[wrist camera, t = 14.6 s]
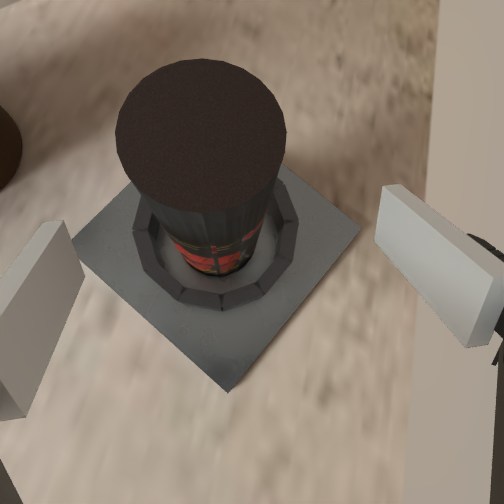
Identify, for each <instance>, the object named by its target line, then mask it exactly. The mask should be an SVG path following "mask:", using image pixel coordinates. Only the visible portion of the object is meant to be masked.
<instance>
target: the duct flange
mask: <svg viewBox="0 0 504 504" xmlns="http://www.w3.org/2000/svg"><path fill="white" fill-rule="evenodd" d="M361 229H362V228H361V227H360V226H359V225H358V224H356V223H355V222H354V221H353V220H352V219H350V218H349V217H348V216H347V215H345V214H344V213H343V212H342V211H340V210H339V209H338V208H337V207H335V206H334V205H333V204H332V203H331V202H329V201H328V200H327V199H326V198H324V197H323V196H322V195H321V194H319V193H318V192H317V191H316V190H314V189H313V188H312V187H311V186H310V185H308V184H307V183H306V182H305V181H303V180H302V179H301V178H300V177H298V176H297V175H296V174H295V173H294V172H292V171H291V170H290V169H289V168H287V167H286V166H285V165H284V164H282V163H281V166H280V169H279V173H278V176H277V179H276V182H275V186H274V189H273V192H272V195H271V199H270V202H269V205H268V208H267V212H266V215H265V218H264V221H263V225H262V228H261V231H260V235H259V238H258V241H257V244H256V248H255V250H254V253H253V255H252V257H251V259H250V260H249V261H248V263H247V264H246V265H245V266H244V267H243V268H241V269H240V270H239V271H237V272H235V273H232V274H230V275H227V276H220V277H215V276H207V275H205V274H202V273H199V272H197V271H196V270H195V269H193V268H192V267H191V266H189V264H188V263H187V262H186V261H185V259H184V258H183V257H182V255H181V254H180V252H179V251H178V249H177V248H176V246H175V245H174V243H173V242H172V240H171V239H170V237H169V236H168V234H167V233H166V231H165V230H164V229H163V227H162V226H161V224H160V223H159V221H158V220H157V218H156V217H155V215H154V214H153V212H152V211H151V209H150V208H149V206H148V205H147V204H146V202H145V201H144V199H143V198H142V196H141V195H140V193H139V192H138V190H137V189H136V187H135V186H134V184H133V183H132V181H131V182H130V183H129V184H128V185H127V186H126V187H125V188H124V189H123V190H122V191H121V192H120V193H119V194H118V195H117V196H116V197H115V198H114V199H113V200H112V201H111V202H110V203H109V204H108V205H107V206H106V207H105V208H104V209H103V210H102V211H101V212H99V213H98V214H97V215H96V216H95V217H94V218H93V219H92V220H91V221H90V222H89V223H88V224H87V225H86V226H85V227H84V228H83V229H82V230H81V231H80V232H79V233H78V234H77V235H76V236H75V237H74V238H73V239H72V240H71V241H72V243H73V246H74V249H75V251H76V254H77V256H78V258H79V259H80V260H81V261H82V262H83V263H84V264H85V265H86V266H87V267H88V268H90V269H91V270H92V271H93V272H94V273H95V274H96V275H97V276H98V277H100V278H101V279H102V280H103V281H104V282H105V283H106V284H107V285H108V286H110V287H111V288H112V289H113V290H114V291H115V292H116V293H117V294H118V295H119V296H121V297H122V298H123V299H124V300H125V301H126V302H127V303H128V304H129V305H131V306H132V307H133V308H134V309H135V310H136V311H137V312H138V313H139V314H141V315H142V316H143V317H144V318H145V319H146V320H147V321H148V322H149V323H150V324H152V325H153V326H154V327H155V328H156V329H157V330H158V331H159V332H160V333H162V334H163V335H164V336H165V337H166V338H167V339H168V340H169V341H170V342H172V343H173V344H174V345H175V346H176V347H177V348H178V349H179V350H180V351H181V352H183V353H184V354H185V355H186V356H187V357H188V358H189V359H190V360H191V361H193V362H194V363H195V364H196V365H197V366H198V367H199V368H200V369H201V370H203V371H204V372H205V373H206V374H207V375H208V376H209V377H210V378H211V379H212V380H214V381H215V382H216V383H217V384H218V385H219V386H220V387H221V388H222V389H224V390H225V391H226V392H227V393H229V392H230V390H231V389H232V388H233V387H234V385H235V384H236V383H237V382H238V380H239V379H240V378H241V377H242V376H243V374H244V373H245V372H246V371H247V369H248V368H249V367H250V366H251V364H252V363H253V362H254V361H255V360H256V358H257V357H258V356H259V355H260V353H261V352H262V351H263V350H264V348H265V347H266V346H267V345H268V343H269V342H270V341H271V340H272V339H273V337H274V336H275V335H276V334H277V332H278V331H279V330H280V329H281V327H282V326H283V325H284V324H285V323H286V321H287V320H288V319H289V318H290V316H291V315H292V314H293V313H294V311H295V310H296V309H297V308H298V306H299V305H300V304H301V303H302V302H303V300H304V299H305V298H306V297H307V295H308V294H309V293H310V292H311V290H312V289H313V288H314V287H315V286H316V284H317V283H318V282H319V281H320V279H321V278H322V277H323V276H324V274H325V273H326V272H327V271H328V269H329V268H330V267H331V266H332V265H333V263H334V262H335V261H336V260H337V258H338V257H339V256H340V255H341V253H342V252H343V251H344V250H345V249H346V247H347V246H348V245H349V244H350V242H351V241H352V240H353V239H354V237H355V236H356V235H357V234H358V232H359V231H360V230H361Z"/></svg>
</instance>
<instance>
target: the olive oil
mask: <svg viewBox="0 0 504 504" xmlns="http://www.w3.org/2000/svg"><path fill="white" fill-rule="evenodd" d="M21 153H22V140H21V135H20V132H19V129H18V127H17V125H16V123H15V122H14V120H13V119H12V118H11V117H10V115H9V114H8V113H7V112H6V111H5V110H4V109H3V108H2V107H1V106H0V189H1V188H3V187H4V186H5V185H6V183H7V182H8V181H9V180H10V179H11V177H12V176H13V174H14V173H15V171H16V169H17V167H18V165H19V162H20V158H21Z"/></svg>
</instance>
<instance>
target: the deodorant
mask: <svg viewBox="0 0 504 504" xmlns="http://www.w3.org/2000/svg"><path fill="white" fill-rule="evenodd" d="M286 133H287V132H286V127H285V122H284V116H283V112H282V110H281V108H280V106H279V104H278V102H277V100H276V99H275V97H274V95H273V94H272V93H271V91H270V90H269V89H268V88H267V87H266V86H265V85H264V84H263V83H262V81H261V80H259V79H258V78H256V77H255V76H253V75H252V74H250V73H249V72H247V71H246V70H244V69H243V68H240V67H238V66H235V65H232V64H229V63H227V62H224V61H217V60H209V59H193V60H183V61H178V62H176V63H173V64H170V65H167V66H164V67H161V68H159V69H158V70H156V71H154V72H153V73H151V74H150V75H148V76H146V77H145V78H143V79H142V80H141V81H140V82H139V84H138V85H137V86H136V87H135V88H134V89H133V90H132V91H131V92H130V93H129V95H128V96H127V98H126V100H125V102H124V104H123V106H122V108H121V109H120V111H119V115H118V120H117V125H116V130H115V136H116V147H117V153H118V156H119V158H120V161H121V163H122V166H123V168H124V171H125V173H126V174H127V176H128V177H129V179H130V180H131V181H132V183H133V184H134V186H135V187H136V189H137V190H138V192H139V193H140V195H141V196H142V198H143V199H144V201H145V202H146V204H147V205H148V206H149V208H150V209H151V211H152V212H153V214H154V215H155V217H156V218H157V220H158V221H159V223H160V224H161V226H162V227H163V229H164V230H165V231H166V233H167V234H168V236H169V237H170V239H171V240H172V242H173V243H174V245H175V246H176V248H177V249H178V251H179V252H180V254H181V255H182V257H183V258H184V259H185V261H186V262H187V263H188V264H189V266H191V267H192V268H193V269H195V270H196V271H197V272H199V273H202V274H205V275H207V276H215V277H220V276H227V275H230V274H232V273H235V272H237V271H239V270H240V269H241V268H243V267H244V266H245V265H246V264H247V263H248V261H249V260H250V259H251V257H252V255H253V253H254V250H255V248H256V244H257V241H258V238H259V235H260V231H261V228H262V225H263V221H264V218H265V215H266V212H267V208H268V205H269V202H270V199H271V195H272V192H273V189H274V186H275V182H276V179H277V176H278V173H279V169H280V166H281V163H282V160H283V156H284V153H285V144H286Z"/></svg>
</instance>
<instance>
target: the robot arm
mask: <svg viewBox="0 0 504 504" xmlns="http://www.w3.org/2000/svg"><path fill="white" fill-rule="evenodd" d="M374 242H375V243H376V244H377V245H378V246H379V247H380V249H381V250H382V251H383V252H384V253H385V254H386V256H387V257H388V258H389V259H390V260H391V262H392V263H393V264H394V265H395V266H396V267H397V269H398V270H399V271H400V272H401V273H402V274H403V276H404V277H405V278H406V279H407V280H408V282H409V283H410V284H411V285H412V286H413V287H414V289H415V290H416V291H417V292H418V293H419V294H420V296H421V297H422V298H423V299H424V300H425V302H426V303H427V304H428V305H429V306H430V307H431V309H432V310H433V311H434V312H435V313H436V314H437V316H438V317H439V318H440V319H441V320H442V321H443V323H444V324H445V325H446V326H447V327H448V329H449V330H450V331H451V332H452V333H453V334H454V336H455V337H456V338H457V339H458V340H459V341H460V342H461V344H462V345H463V346H464V347H465V348H470V347H477V346H483V345H488V344H489V341H490V339H491V337H492V335H493V332H494V330H495V331H496V332H497V333H498V334H499V335H500V336H501V337H502V338H503V341H502V343H501V345H500V347H499V350H498V352H497V354H496V356H495V358H494V360H493V362H492V365H495V366H496V364H497V362H498V361H499V362H498V378H497V394H496V395H497V396H496V410H495V411H496V412H495V426H494V442H493V443H494V444H493V459H492V460H493V461H492V476H491V492H490V504H504V254H503V253H502V252H500V251H499V250H496V248H495V247H493V246H492V245H490V244H489V243H488V242H487V241H485V240H483V239H481V238H479V237H476V236H474V235H472V234H465V233H464V232H463V231H461V230H460V229H459V228H457V227H456V226H455V225H453V224H452V223H451V222H450V221H448V220H447V219H445V218H444V217H443V216H442V215H440V214H439V213H438V212H436V211H435V210H434V209H432V208H431V207H430V206H428V205H427V204H426V203H424V202H423V201H422V200H420V199H419V198H418V197H416V196H415V195H414V194H413V193H411V192H410V191H409V190H407V189H406V188H405V187H403V186H402V185H401V184H394V185H384V186H383V187H382V193H381V200H380V206H379V212H378V218H377V225H376V231H375V237H374ZM84 278H85V275H84V272H83V269H82V267H81V264H80V262H79V259H78V256H77V254H76V251H75V249H74V246H73V243H72V241H71V238H70V236H69V233H68V230H67V228H66V225H65V223H64V220H60V221H51V222H43V223H42V225H41V226H40V227H39V229H38V230H37V231H36V233H35V234H34V235H33V237H32V238H31V239H30V241H29V242H28V243H27V245H26V246H25V247H24V249H23V250H22V251H21V253H20V254H19V255H18V257H17V258H16V259H15V261H14V262H13V263H12V265H11V266H10V267H9V269H8V270H7V271H6V273H5V274H4V275H3V277H2V278H1V279H0V421H6V420H12V419H18V418H25V417H26V416H27V413H28V411H29V409H30V406H31V404H32V402H33V399H34V397H35V394H36V392H37V390H38V387H39V385H40V383H41V380H42V378H43V375H44V373H45V371H46V368H47V366H48V363H49V361H50V359H51V356H52V354H53V352H54V349H55V347H56V344H57V342H58V340H59V337H60V335H61V333H62V330H63V328H64V325H65V323H66V321H67V318H68V316H69V314H70V311H71V309H72V306H73V304H74V302H75V299H76V297H77V295H78V292H79V290H80V287H81V285H82V283H83V280H84ZM0 504H23V502H22V500H21V498H20V496H19V494H18V493H17V491H16V489H15V487H14V485H13V483H12V481H11V479H10V477H9V475H8V473H7V471H6V469H5V467H4V465H3V463H2V461H1V459H0Z"/></svg>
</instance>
